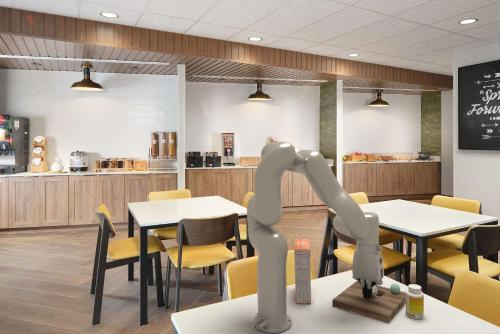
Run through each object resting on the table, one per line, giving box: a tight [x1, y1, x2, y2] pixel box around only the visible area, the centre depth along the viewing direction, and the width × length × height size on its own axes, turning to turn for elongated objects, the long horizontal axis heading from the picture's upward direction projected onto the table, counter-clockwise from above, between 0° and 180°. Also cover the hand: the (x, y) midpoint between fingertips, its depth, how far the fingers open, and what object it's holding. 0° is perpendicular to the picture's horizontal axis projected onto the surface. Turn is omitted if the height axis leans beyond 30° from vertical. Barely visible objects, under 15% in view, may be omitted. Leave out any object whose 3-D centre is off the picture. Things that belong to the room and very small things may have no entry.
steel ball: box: [372, 286, 378, 297], centre depth 130 cm, size 4×4×4 cm
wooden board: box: [331, 280, 406, 324], centre depth 131 cm, size 22×20×2 cm
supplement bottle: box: [405, 283, 425, 320], centre depth 120 cm, size 6×6×10 cm
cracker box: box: [293, 238, 312, 305], centre depth 137 cm, size 14×6×21 cm, turn 172°
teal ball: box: [389, 283, 401, 293], centre depth 133 cm, size 4×4×4 cm
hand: (367, 297), depth 128 cm, fingers closed
